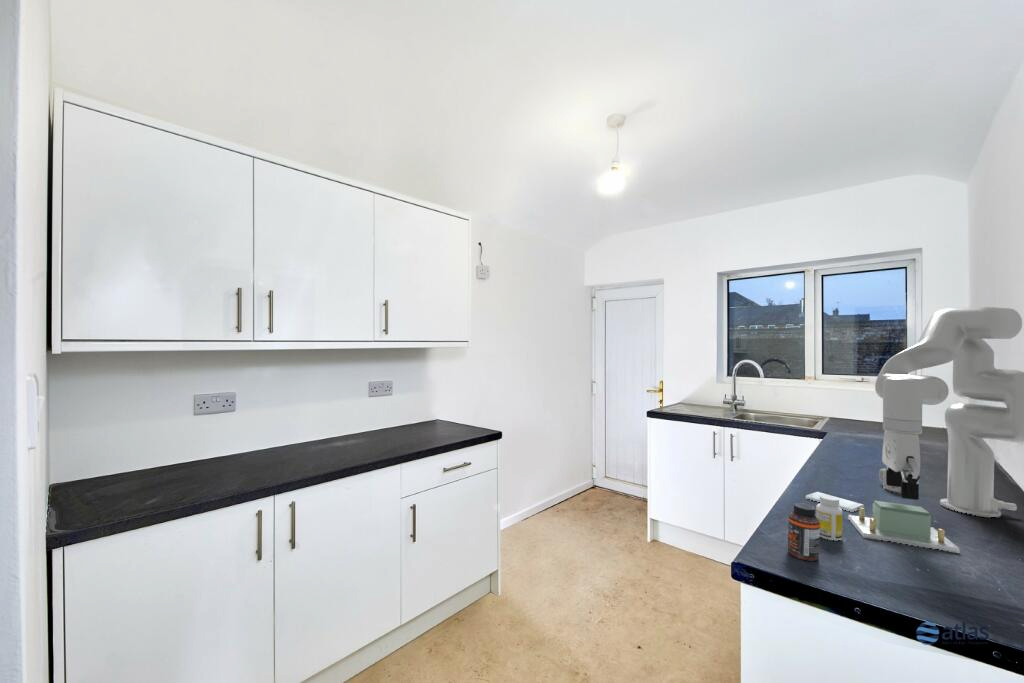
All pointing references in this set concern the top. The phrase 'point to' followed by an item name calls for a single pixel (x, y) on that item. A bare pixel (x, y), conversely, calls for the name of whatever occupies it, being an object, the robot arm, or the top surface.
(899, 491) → the mug
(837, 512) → the supplement bottle
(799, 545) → the supplement bottle
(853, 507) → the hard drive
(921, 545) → the plate
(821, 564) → the top surface
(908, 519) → the block
